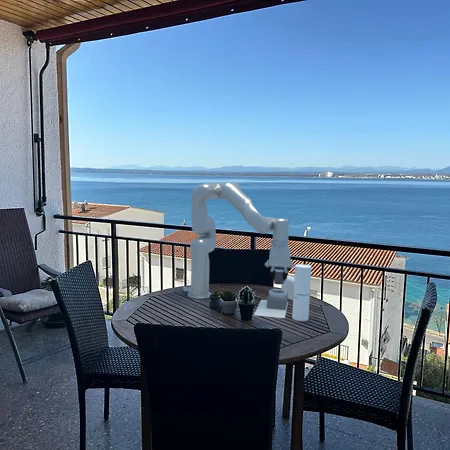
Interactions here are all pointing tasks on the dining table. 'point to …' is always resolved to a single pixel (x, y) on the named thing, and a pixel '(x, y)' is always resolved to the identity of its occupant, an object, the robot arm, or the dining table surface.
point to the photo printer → (289, 286)
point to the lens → (279, 275)
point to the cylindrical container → (301, 292)
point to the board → (269, 310)
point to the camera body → (277, 299)
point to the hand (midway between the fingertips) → (278, 279)
